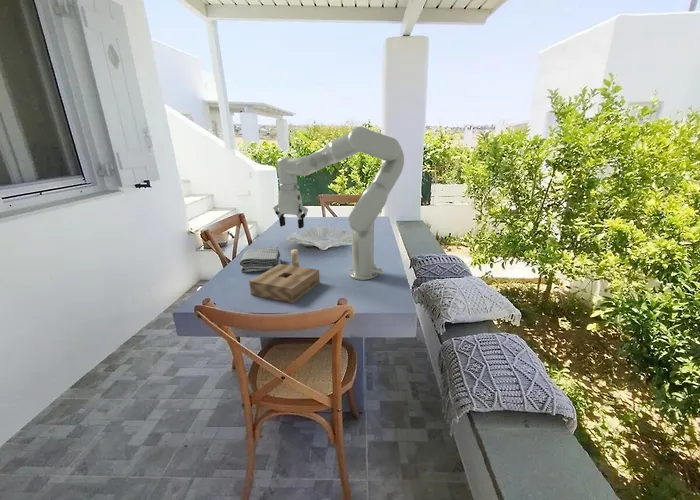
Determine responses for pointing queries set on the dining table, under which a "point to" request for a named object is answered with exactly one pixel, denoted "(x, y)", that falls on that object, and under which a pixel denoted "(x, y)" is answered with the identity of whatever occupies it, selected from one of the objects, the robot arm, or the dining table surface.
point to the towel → (260, 259)
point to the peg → (294, 257)
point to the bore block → (285, 283)
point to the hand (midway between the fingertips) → (291, 226)
